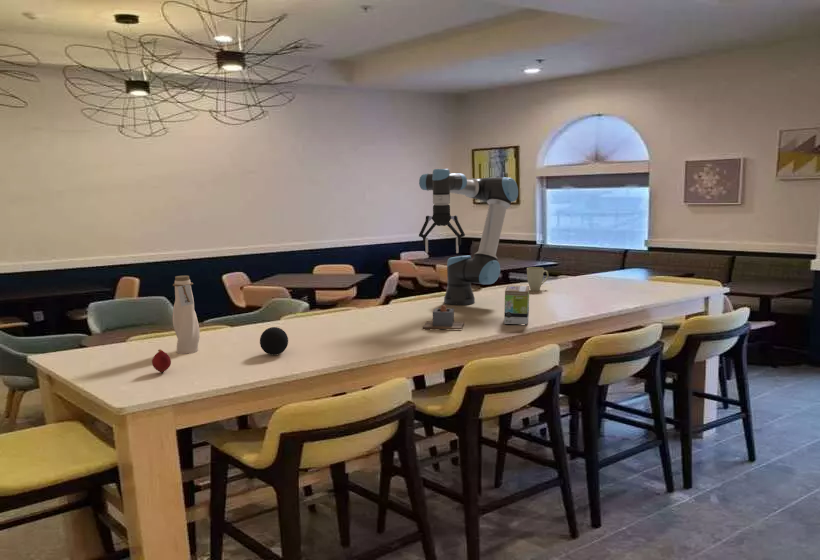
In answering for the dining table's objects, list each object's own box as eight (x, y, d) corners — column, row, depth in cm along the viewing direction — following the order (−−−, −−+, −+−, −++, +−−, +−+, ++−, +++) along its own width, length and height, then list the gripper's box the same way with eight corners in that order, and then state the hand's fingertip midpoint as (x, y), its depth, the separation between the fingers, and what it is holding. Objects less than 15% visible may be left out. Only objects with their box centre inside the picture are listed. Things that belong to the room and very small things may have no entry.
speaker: (276, 359, 237) (275, 331, 235) (254, 356, 242) (253, 329, 240) (294, 352, 246) (293, 325, 244) (273, 349, 250) (271, 323, 249)
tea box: (528, 325, 282) (528, 290, 280) (503, 325, 284) (503, 290, 282) (529, 318, 296) (529, 285, 294) (506, 317, 298) (506, 284, 296)
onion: (166, 369, 228) (164, 346, 226) (175, 372, 224) (173, 348, 223) (149, 373, 223) (147, 349, 222) (158, 376, 219) (156, 352, 218)
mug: (541, 292, 360) (541, 269, 358) (524, 290, 365) (524, 268, 364) (548, 289, 369) (549, 267, 368) (531, 287, 375) (531, 266, 373)
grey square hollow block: (435, 322, 287) (435, 308, 286) (454, 322, 286) (453, 308, 285) (432, 326, 280) (432, 312, 279) (452, 326, 278) (451, 312, 277)
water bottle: (206, 351, 250) (201, 276, 246) (183, 356, 244) (177, 279, 240) (193, 346, 257) (188, 274, 253) (170, 351, 251) (165, 276, 247)
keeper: (426, 323, 290) (426, 302, 289) (464, 324, 287) (463, 302, 286) (422, 329, 278) (422, 307, 277) (461, 330, 276) (461, 308, 274)
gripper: (411, 205, 295) (412, 253, 298) (469, 204, 290) (469, 253, 293) (414, 204, 302) (415, 251, 305) (470, 203, 298) (470, 251, 301)
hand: (442, 252), depth 299 cm, fingers open, 13 cm apart
